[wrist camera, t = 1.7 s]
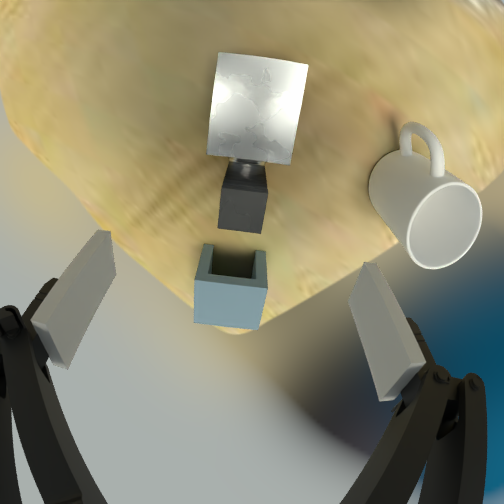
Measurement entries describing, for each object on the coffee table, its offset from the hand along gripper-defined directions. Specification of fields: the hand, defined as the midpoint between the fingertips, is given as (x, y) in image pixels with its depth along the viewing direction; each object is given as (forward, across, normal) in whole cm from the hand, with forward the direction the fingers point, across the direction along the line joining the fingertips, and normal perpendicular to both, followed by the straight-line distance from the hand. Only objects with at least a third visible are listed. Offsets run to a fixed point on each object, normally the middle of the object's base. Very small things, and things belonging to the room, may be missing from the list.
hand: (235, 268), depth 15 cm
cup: (+17, +16, +4) cm, 23 cm away
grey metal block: (+16, 0, +7) cm, 18 cm away
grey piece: (+15, 0, +3) cm, 16 cm away
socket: (+16, 0, -12) cm, 20 cm away
